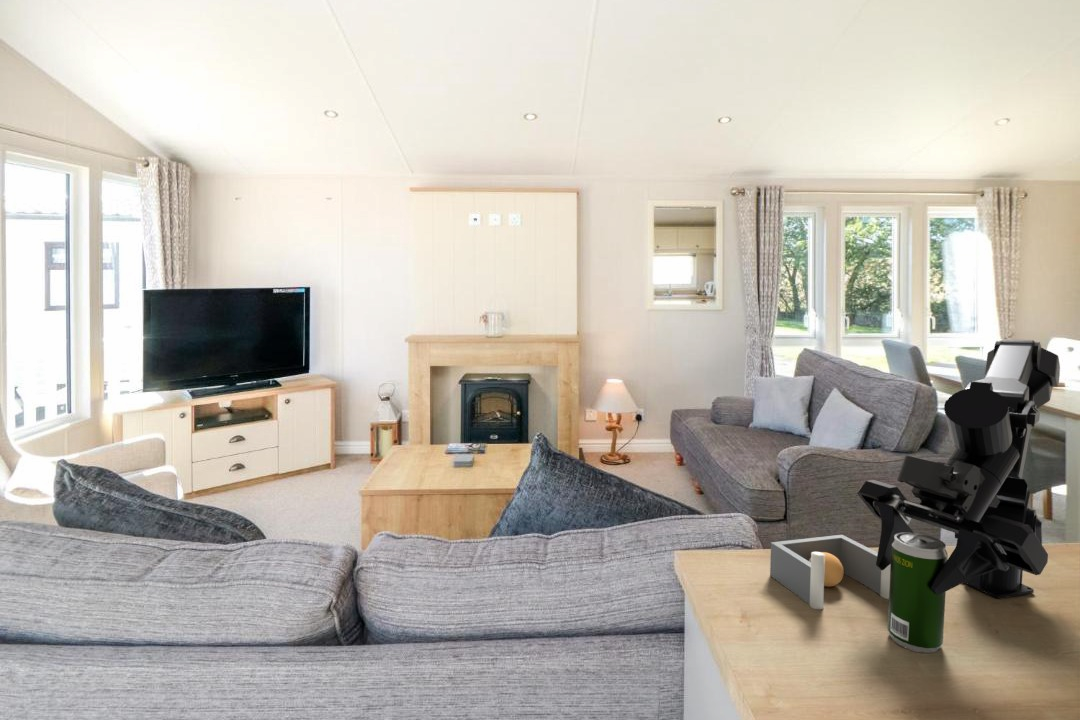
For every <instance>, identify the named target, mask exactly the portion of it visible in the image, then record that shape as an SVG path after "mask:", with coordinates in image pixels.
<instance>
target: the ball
mask: <svg viewBox="0 0 1080 720" xmlns="http://www.w3.org/2000/svg"><path fill="white" fill-rule="evenodd" d="M821 553H823V554H825V571H824V587H834V586H837V585H838V584H839V583H841V581H842V579H843V577H844V575H845V573H844V570H843V566H842V564H841V562H840V561H839V559H838V558H836V557H835V556H834V555H832V554H830V553H826V552H821ZM809 562H811V558H810V560H809Z"/></svg>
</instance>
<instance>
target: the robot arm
mask: <svg viewBox="0 0 1080 720" xmlns="http://www.w3.org/2000/svg"><path fill="white" fill-rule="evenodd" d="M985 362H986V364H985V370H984V377H983V378H982V379H977V380H973V381H970V382H968V383H967V385H966V386H965V387H964V388H963V389H961V390H959V391H957V392H955V393H953V394H952V395H951V396H949V397H948V398H947V400H945V402H944V404H943V405H944V409H943V411H944V413H945V414H944V415H945V419H946V422H947V427H948V431H949V436H950V440H951V443H952V445H953V447H955V448H954V449H953V451H952V453H951V454H950V456H949V457H948V458H947V461H946V462H941V461H934V460H930V459H925V458H922V457H916V456H912V455H907V454H906V455H905V457H904V459H903V461H902V465H901V467H900V470H899V473H898V476H897V481H898V482H899V483H905V484H907V485H909V486H911V487H913V488H912V490H911V493H912V494H913V496H914V497H915V498H917V499H919V500H920V502H919V503H918V502H915V501H910V500H907V498H906V497H905V496H904V494H903V493H902V491H901V490H900V489H899V488H898V486H895V485H892V484H888V483H885V482H883V481H879V480H875V479H867V480H865V481H864V482H863V483H862V484H861V486H860V488H859V489H858V490H857V492H856V494H857V496H859V498H860V499H861V500H862V501H863V503H864V504H865V506H867V508H868V510H869V511H870V512H871V514H873V515H874V517H876V518H877V519H879V520H880V521H881V523H880V524H881V527H880V529H881V530H880V538H879V543H878V548H877V553H878V555H877V561H876V566H877V567H878V568H879V569H880V570H884V569H885V568H886V567H887V566H889V565H890V564H891V548H892V542H893V541H894V536H895V534H897V533H905V532H909V533H915V532H914V531H913V529H911V527H910V525H909V524H910V522H911V520H912V519H913V520H915V521H920V522H922V523H925V524H927V525H931V526H934V527H937V528H939V529H943V530H945V531H949V532H951V533H953V534H954V539H957V540H956V546H955V547H954V549H953V551H952V552H951V554H950V555H949V557H948V558H947V561H946V563H945V564H944V566H943V567H942V569H941V570H940V572H939V573H938V575H937V576H936V578H935V580H934V583H933V585H932V587H931V590H932V591H933V593H934V594H936V595H940V594H942V593H944V592H948V591H950V590H952V589H954V588H956V587H958V586H959V585H961V584H966V585H969V586H971V587H973V588H975V589H977V590H979V591H981V592H983V593H985V594H988V595H990V596H991V597H993V598H996V599H1003V598H1009V597H1016V596H1023V595H1028V594H1029V595H1030V594H1034V592H1035V589H1034V588H1032V587H1031V586H1029V585H1026V584H1024V583H1023V572H1027V573H1029V574H1032V575H1034V576H1040V575H1041V574H1042V573H1043V570H1044V568H1045V567H1046V565H1047V564H1048V562H1049V560H1048V559H1049V554H1048V551H1047V550H1046V549H1045V548H1044V546H1043V522H1042V521H1041V520H1040V519H1039V518H1038V514H1037V509H1032V503H1031V502H1032V501H1031V500H1032V499H1031V491H1030V490H1029V488H1028V487H1029V485H1028V483H1027V481H1026V480H1025V478H1023V474H1024V468H1025V462H1026V458H1027V452H1028V446H1029V441H1030V436H1031V430H1033V428H1034V427H1035V426H1036V424H1038V422H1039V421H1040V416H1041V411H1040V410H1039V408H1041V407H1042V406H1043V405H1045V404H1048V402H1050V400H1051V398H1052V391H1053V388H1058V387H1059V384H1060V376H1061V375H1060V372H1061V364H1060V359H1059V355H1058V354H1056V353H1054V352H1052V351H1049V350H1047V349H1045V348H1043V347H1042V344H1041V341H1035V340H1031V339H1001V340H996V341H995V344H994V348H993V349H992V350H990V351H988V353H987V356H986V361H985Z"/></svg>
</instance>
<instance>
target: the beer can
mask: <svg viewBox="0 0 1080 720" xmlns="http://www.w3.org/2000/svg"><path fill="white" fill-rule="evenodd" d="M948 558H949V557H948V552H947V550H946V543H945V542H944V541H943V540H941V539H939V538H935V537H934V536H931V535H926V534H923V533H917V532H914V533H909V532H905V533H897V534H895V536H894V541H893V542H892V548H891V569H890V590H889V599H888V613H887V614H888V616H887V631H888V634H889V636H890V638H891V639H892V641H893V642H894V643H896V644H898V645H899V646H900V647H903V648H905V649H908V650H909V651H912V652H913V651H914V652H916V653H922V654H930V653H931V654H932V653H936V652H938V651H939V650H940V648H941V647H942V646H943V645H944V644H943V643H944V631H945V630H944V627H945V626H944V625H945V610H946V609H945V607H946V594H947V593H946V592H947V591H946V592H944V593H942V594H940V595H936V594H934V593H933V591H932V590H931V587H932V585H933V583H934V580H935V578H936V576H937V575H938V573H939V572H940V570H941V569H942V567H943V566H944V564H945V563H946V561H947V560H948Z"/></svg>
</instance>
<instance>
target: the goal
mask: <svg viewBox="0 0 1080 720" xmlns="http://www.w3.org/2000/svg"><path fill="white" fill-rule="evenodd" d="M821 552H826V553H830V554H832V555H834V556H835V557H836V558H838V559H839V561H840V562H841V564H842V566H843V570H844V575H847V576H848V577H850V578H852V579H853V580H855V581H857V582H858V581H859V583H860V584H861V585H863V584H864V586H866V587H867V588H868V587H869V589H870V590H872V591H873V592H876V594H879V595H880V597H881V598H883V599H886V600H889V590H890V569H891V564H890V565H889V566H887V567H886V568H885V569H884V570H880V569H879V568H878V567H877V566H876V561H877V555H878V551H875V550H873V549H872V548H869V547H867V546H865V545H864V544H861V543H859V542H858V541H856V540H854V539H851V538H850V537H847V536H846V535H844V534H835V535H826V536H818V537H808V538H799V539H788V540H781V541H772V542H770V563H769V564H770V565H769V566H770V568H769V569H770V570H769V571H770V572H769V576H770V577H771V576H772V577H773V579H774V580H775V579H776V581H777V582H778V583H779V582H780V583H779V584H781V586H783V585H784V587H785V588H787V589H788V590H789V591H790V590H791V591H790V592H792V593H793V592H794V593H793V594H794V595H796V594H797V595H798V596H797V595H796V596H797V597H798V598H800V599H801V598H802V600H803V601H804V600H805V601H804V602H806V603H807V604H808V605H809V607H810V608H811V609H814V610H823V609H824V598H825V597H824V595H825V594H824V593H825V586H824V571H825V554H823V553H821ZM810 558H811V562H809V560H810ZM772 577H771V578H772Z"/></svg>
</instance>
